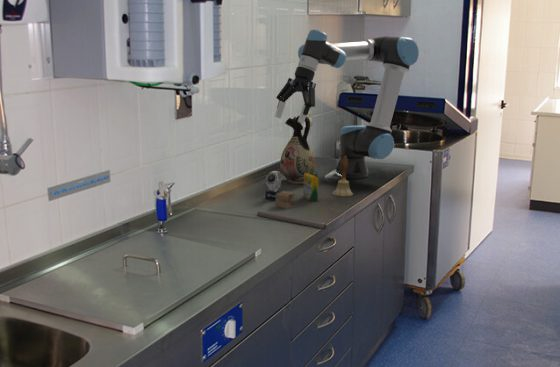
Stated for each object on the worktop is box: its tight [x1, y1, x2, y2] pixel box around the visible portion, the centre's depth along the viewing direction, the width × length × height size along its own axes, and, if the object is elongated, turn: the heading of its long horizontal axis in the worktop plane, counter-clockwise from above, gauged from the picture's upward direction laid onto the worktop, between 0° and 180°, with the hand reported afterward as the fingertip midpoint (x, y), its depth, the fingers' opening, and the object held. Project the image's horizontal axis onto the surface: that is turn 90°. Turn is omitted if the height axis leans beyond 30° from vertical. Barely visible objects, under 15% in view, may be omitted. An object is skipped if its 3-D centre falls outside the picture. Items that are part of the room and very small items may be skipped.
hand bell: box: [332, 156, 354, 197], centre depth 270 cm, size 8×8×16 cm
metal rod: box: [256, 210, 327, 230], centre depth 232 cm, size 2×27×2 cm, turn 58°
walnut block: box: [275, 190, 295, 210], centre depth 251 cm, size 5×5×5 cm
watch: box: [264, 170, 283, 201], centre depth 260 cm, size 6×8×11 cm
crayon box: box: [303, 169, 319, 202], centre depth 261 cm, size 7×3×12 cm, turn 24°
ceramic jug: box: [279, 114, 316, 185], centre depth 286 cm, size 17×15×30 cm
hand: (288, 120), depth 260 cm, fingers open, 13 cm apart
